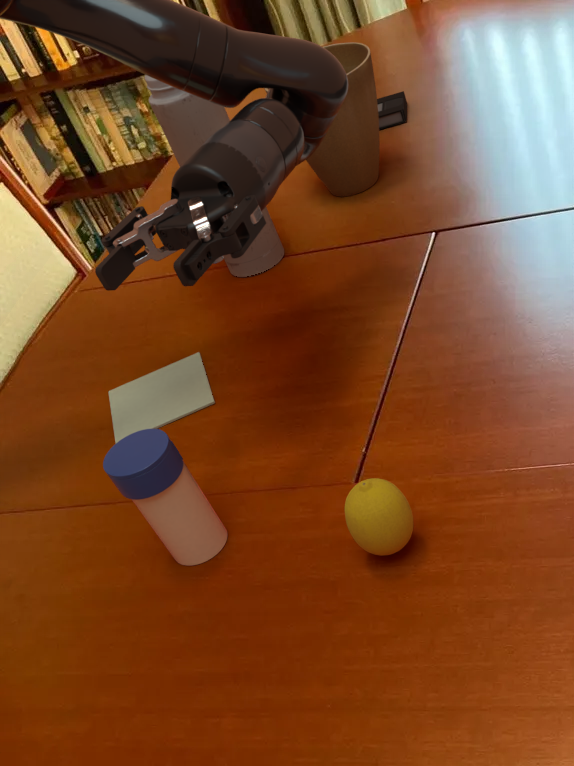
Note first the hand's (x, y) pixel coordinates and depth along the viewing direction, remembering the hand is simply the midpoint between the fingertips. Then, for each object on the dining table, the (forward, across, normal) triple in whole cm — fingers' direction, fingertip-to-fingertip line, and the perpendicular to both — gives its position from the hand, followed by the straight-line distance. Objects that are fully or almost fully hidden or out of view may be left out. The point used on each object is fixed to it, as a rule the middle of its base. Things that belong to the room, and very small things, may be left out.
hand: (141, 279), depth 74 cm
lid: (+11, 0, -10) cm, 15 cm away
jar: (+10, 0, -22) cm, 24 cm away
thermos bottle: (-40, +21, -22) cm, 50 cm away
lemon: (+9, -20, -22) cm, 31 cm away
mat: (-11, +19, -22) cm, 30 cm away
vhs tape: (-79, +21, -22) cm, 85 cm away
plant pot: (-59, +14, -22) cm, 65 cm away
